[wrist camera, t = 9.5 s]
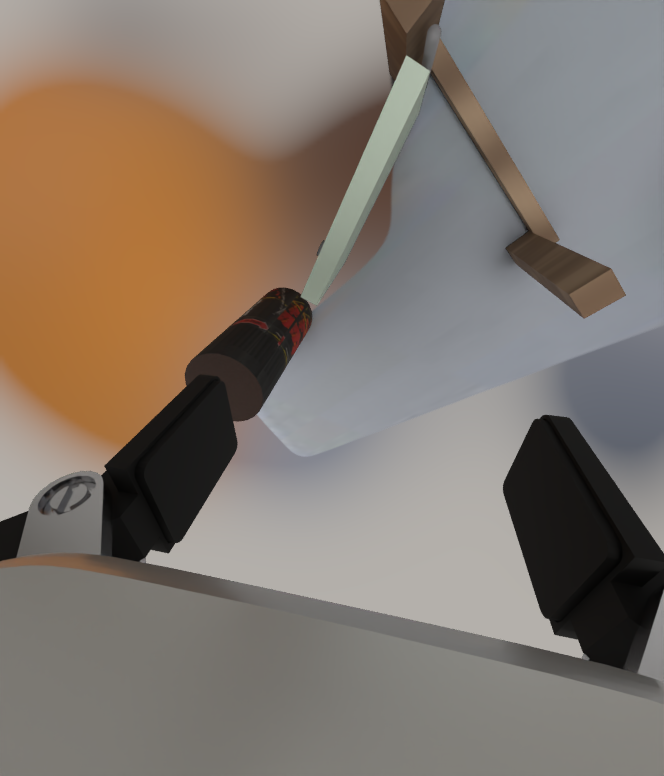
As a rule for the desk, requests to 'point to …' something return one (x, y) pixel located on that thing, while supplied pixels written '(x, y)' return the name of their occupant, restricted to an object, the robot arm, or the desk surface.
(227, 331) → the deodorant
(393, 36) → the door frame
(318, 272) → the door
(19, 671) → the robot arm
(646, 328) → the desk surface
